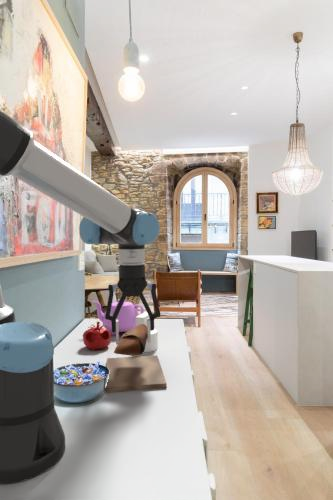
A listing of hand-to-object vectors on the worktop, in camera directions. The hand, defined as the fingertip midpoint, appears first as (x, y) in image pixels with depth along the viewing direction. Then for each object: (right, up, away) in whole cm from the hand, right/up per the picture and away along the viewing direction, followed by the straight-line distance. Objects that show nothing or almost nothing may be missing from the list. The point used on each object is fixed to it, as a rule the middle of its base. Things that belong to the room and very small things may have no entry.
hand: (133, 342), depth 102 cm
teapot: (-10, -8, +45) cm, 47 cm away
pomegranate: (-15, -9, +26) cm, 31 cm away
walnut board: (0, -9, 0) cm, 9 cm away
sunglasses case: (0, -1, 0) cm, 1 cm away
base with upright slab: (+2, -9, +24) cm, 25 cm away
